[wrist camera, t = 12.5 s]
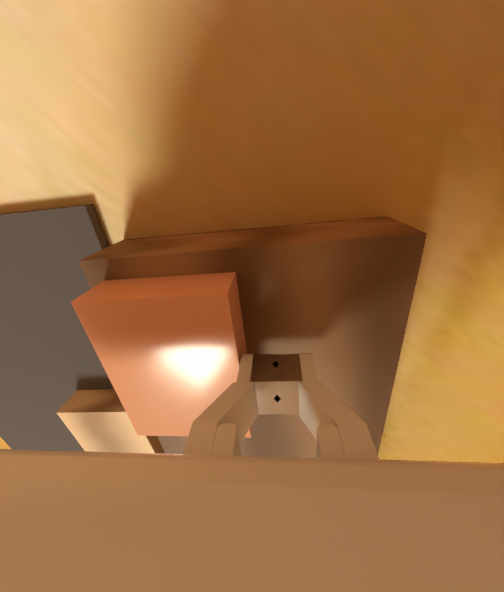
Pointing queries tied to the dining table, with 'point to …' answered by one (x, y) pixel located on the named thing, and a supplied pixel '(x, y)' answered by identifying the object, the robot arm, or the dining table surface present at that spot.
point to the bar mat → (45, 323)
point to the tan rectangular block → (104, 424)
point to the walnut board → (299, 306)
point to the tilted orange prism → (166, 344)
